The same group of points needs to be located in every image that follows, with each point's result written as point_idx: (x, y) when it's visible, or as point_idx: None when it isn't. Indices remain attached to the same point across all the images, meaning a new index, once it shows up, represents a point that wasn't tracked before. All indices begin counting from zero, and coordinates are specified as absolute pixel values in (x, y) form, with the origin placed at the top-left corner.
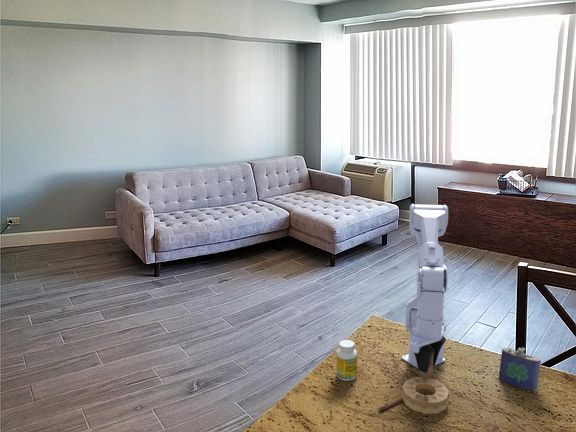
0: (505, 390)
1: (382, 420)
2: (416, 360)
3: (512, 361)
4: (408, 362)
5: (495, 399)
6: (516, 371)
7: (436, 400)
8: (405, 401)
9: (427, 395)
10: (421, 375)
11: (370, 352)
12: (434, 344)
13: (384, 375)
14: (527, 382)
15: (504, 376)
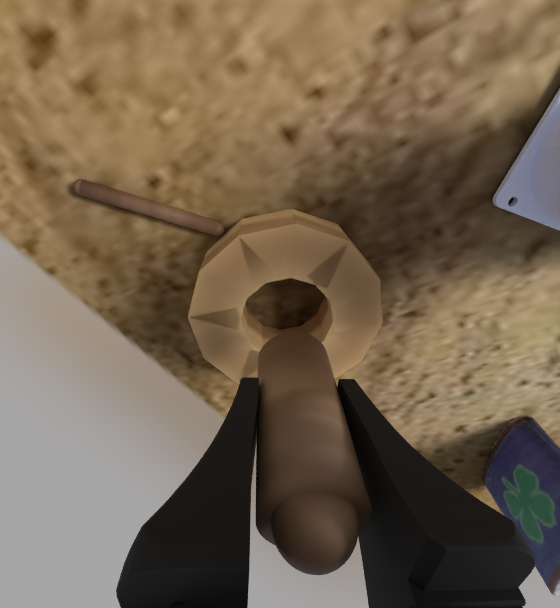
0: (467, 439)
1: (47, 225)
2: (223, 423)
3: (558, 526)
4: (551, 103)
5: (408, 435)
6: (527, 502)
7: (242, 375)
8: (205, 256)
9: (250, 342)
10: (258, 363)
11: None
12: (378, 570)
13: (370, 38)
14: (500, 496)
15: (521, 449)
